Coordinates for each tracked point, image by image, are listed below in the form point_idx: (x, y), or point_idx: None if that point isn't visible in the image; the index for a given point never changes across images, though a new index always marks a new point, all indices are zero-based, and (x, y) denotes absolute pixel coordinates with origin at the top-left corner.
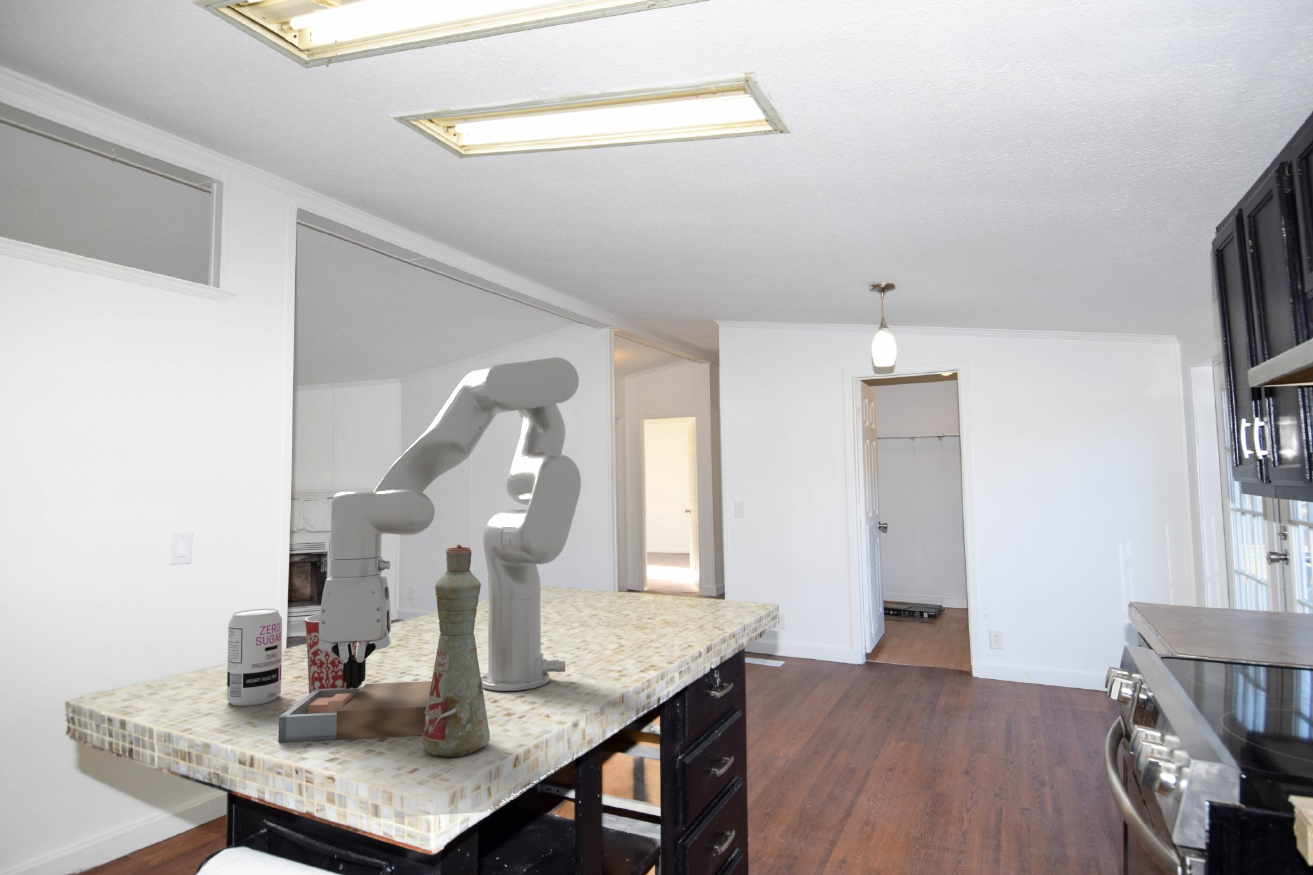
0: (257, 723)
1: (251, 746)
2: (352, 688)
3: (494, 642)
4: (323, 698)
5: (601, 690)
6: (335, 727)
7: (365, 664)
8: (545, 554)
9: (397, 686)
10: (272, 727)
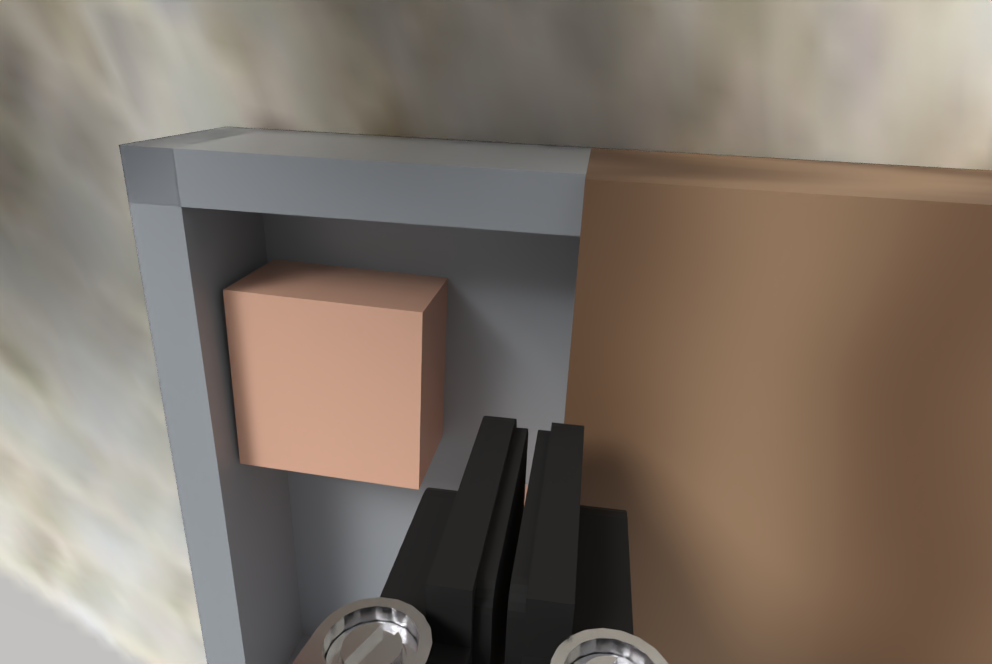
0: (6, 321)
1: (191, 651)
2: (459, 199)
3: None
4: (280, 318)
5: None
6: None
7: (631, 619)
8: None
9: (935, 370)
10: (132, 415)
